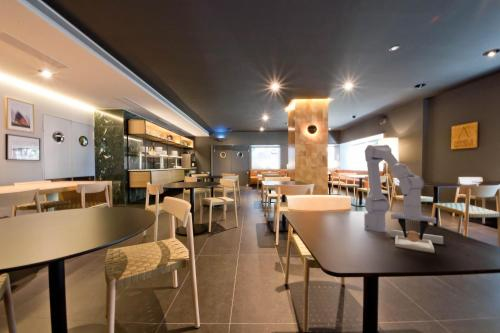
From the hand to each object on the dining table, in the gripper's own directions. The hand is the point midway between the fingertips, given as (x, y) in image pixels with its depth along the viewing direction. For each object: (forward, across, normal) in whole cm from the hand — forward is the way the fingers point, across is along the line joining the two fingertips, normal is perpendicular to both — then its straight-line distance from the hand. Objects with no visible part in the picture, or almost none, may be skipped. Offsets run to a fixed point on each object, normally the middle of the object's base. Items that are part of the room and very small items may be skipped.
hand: (413, 238), depth 85 cm
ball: (-1, 0, 0) cm, 1 cm away
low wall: (+3, +1, +8) cm, 9 cm away
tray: (+3, 0, 0) cm, 3 cm away
